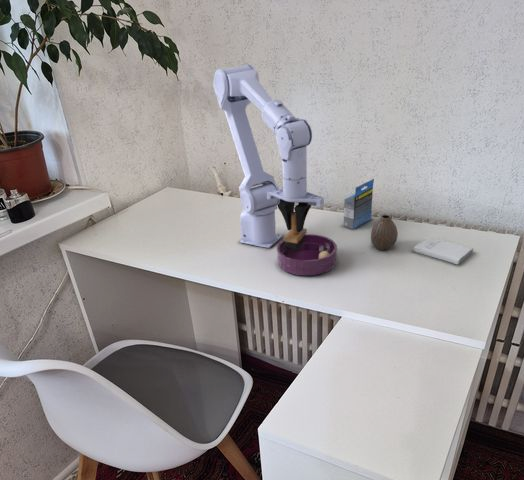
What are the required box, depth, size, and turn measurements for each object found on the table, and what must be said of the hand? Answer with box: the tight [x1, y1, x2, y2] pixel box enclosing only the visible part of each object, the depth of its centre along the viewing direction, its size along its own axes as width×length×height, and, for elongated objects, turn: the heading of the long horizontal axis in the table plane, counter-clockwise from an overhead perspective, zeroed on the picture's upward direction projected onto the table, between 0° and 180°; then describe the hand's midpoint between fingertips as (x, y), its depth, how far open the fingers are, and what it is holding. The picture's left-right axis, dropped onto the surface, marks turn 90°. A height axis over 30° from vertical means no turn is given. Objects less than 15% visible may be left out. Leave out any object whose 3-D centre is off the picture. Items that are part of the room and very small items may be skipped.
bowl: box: [276, 233, 338, 277], centre depth 131 cm, size 15×15×4 cm
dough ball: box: [318, 251, 329, 259], centre depth 130 cm, size 3×3×3 cm
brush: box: [283, 211, 308, 250], centre depth 128 cm, size 4×6×8 cm, turn 153°
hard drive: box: [412, 236, 474, 266], centre depth 132 cm, size 2×8×12 cm
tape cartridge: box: [343, 178, 375, 230], centre depth 146 cm, size 9×4×12 cm, turn 136°
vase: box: [370, 214, 399, 251], centre depth 134 cm, size 7×7×9 cm
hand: (295, 229), depth 129 cm, fingers closed on brush, 2 cm apart
